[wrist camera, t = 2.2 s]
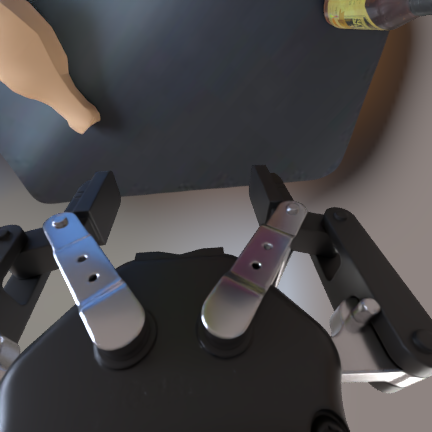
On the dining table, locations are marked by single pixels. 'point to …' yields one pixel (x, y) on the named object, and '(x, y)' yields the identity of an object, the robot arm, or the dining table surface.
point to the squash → (39, 64)
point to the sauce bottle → (374, 13)
